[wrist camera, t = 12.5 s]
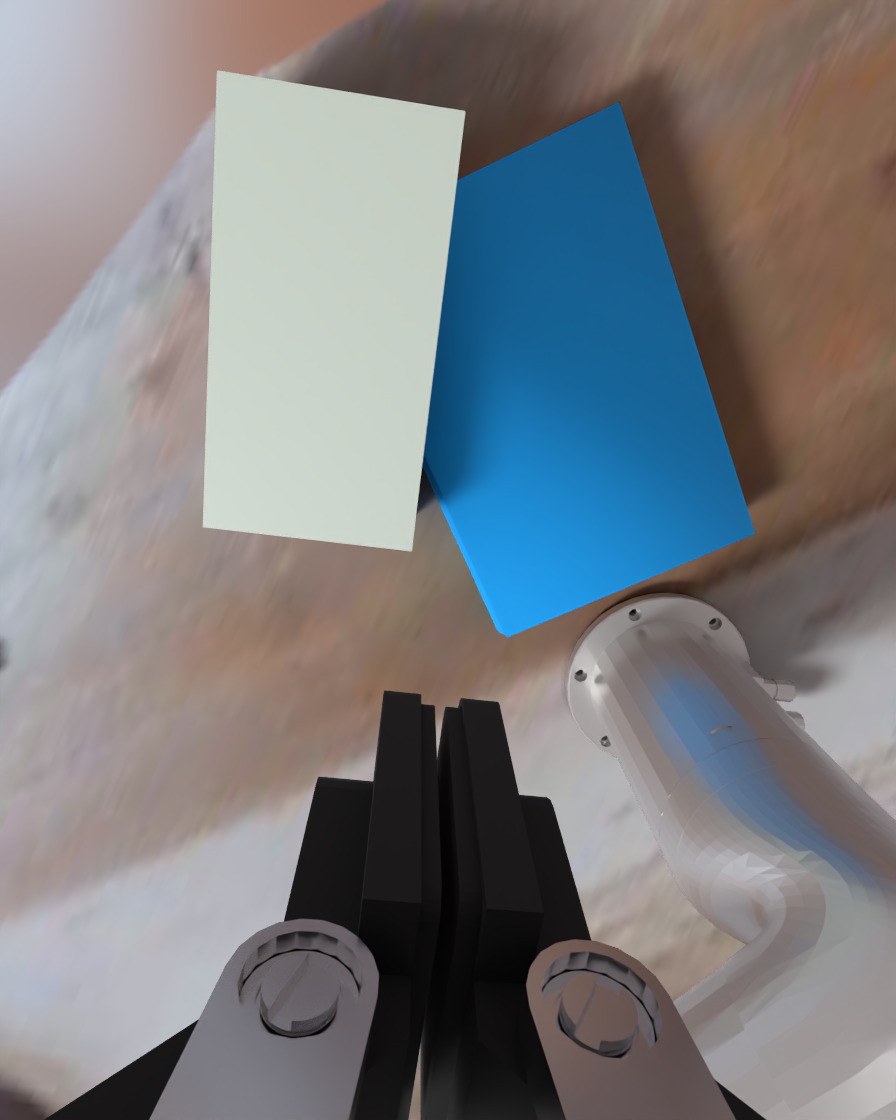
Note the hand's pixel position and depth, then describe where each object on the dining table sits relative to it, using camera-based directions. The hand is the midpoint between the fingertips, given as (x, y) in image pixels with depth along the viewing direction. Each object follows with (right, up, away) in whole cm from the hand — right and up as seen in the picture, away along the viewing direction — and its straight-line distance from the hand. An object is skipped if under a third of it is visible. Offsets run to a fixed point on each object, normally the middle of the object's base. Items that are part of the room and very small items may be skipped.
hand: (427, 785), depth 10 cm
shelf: (-6, +17, +31) cm, 36 cm away
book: (+6, +14, +34) cm, 37 cm away
